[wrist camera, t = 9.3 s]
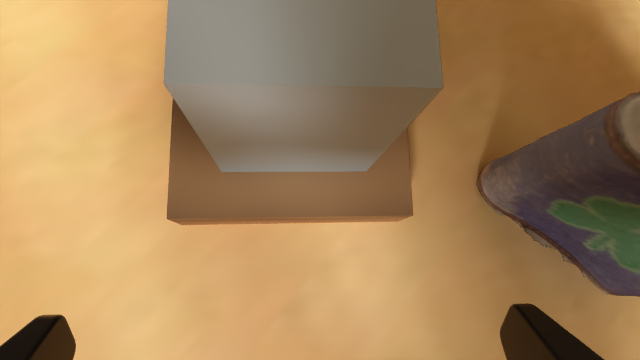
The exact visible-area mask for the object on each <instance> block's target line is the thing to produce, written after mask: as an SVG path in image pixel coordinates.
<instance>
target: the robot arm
mask: <svg viewBox="0 0 640 360" xmlns="http://www.w3.org/2000/svg"><path fill="white" fill-rule="evenodd" d="M500 338H501V342H502V345H503V349H504V352H505V355H506V359H507V360H604V359H603V358H601V357H600V356H599V355H598V354H596V353H595V352H594V351H592V350H591V349H590V348H589V347H587V346H586V345H585V344H584V343H582V342H581V341H580V340H578V339H577V338H576V337H575V336H573V335H572V334H571V333H569V332H568V331H567V330H566V329H564V328H563V327H562V326H560V325H559V324H558V323H557V322H555V321H554V320H553V319H551V318H550V317H549V316H548V315H546V314H545V313H544V312H542V311H541V310H540V309H539V308H537V307H536V306H534V305H532V304H513V305H512V306H510V308H509V310H508V312H507V315H506V317H505V319H504V321H503V324H502V326H501V329H500ZM75 349H76V343H75V339H74V337H73V334H72V332H71V330H70V327H69V325H68V323H67V320H66V318H65V317H64V316H62V315H41V316H39V317H37V318H35V319H34V320H32V321H31V322H30V323H29V324H27V325H26V326H25V327H24V328H22V329H21V330H20V331H19V332H17V333H16V334H15V335H14V336H12V337H11V338H10V339H9V340H7V341H6V342H5V343H4V344H2V345H1V346H0V360H73V358H74V354H75Z"/></svg>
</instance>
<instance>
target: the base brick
mask: <svg viewBox="0 0 640 360" xmlns="http://www.w3.org/2000/svg"><path fill="white" fill-rule="evenodd" d="M410 216H413V205H412V191H411V177H410V163H409V149H408V134H407V128H406V129H405V130H404V131H403V132H402V133H401V134H400V135H399V136H398V137H397V139H396V140H395V141H394V142H393V143H392V144H391V145H390V146H389V147H388V148H387V149H386V150H385V152H384V153H383V154H382V155H381V156H380V157H379V158H378V159H377V160H376V161H375V162H374V163H373V165H372V166H371V167H370V168H369V169H368V170H367V171H353V172H221V170H220V169H219V167H218V166H217V164H216V163H215V161H214V160H213V158H212V156H211V155H210V153H209V152H208V150H207V149H206V147H205V146H204V144H203V143H202V141H201V140H200V138H199V137H198V135H197V133H196V132H195V130H194V129H193V127H192V126H191V124H190V123H189V121H188V120H187V118H186V117H185V115H184V114H183V112H182V110H181V109H180V107H179V106H178V104H177V103H176V101H175V100H174V98H173V106H172V126H171V145H170V165H169V185H168V204H167V219H168V220H171V221H173V222H176V223H178V224H181V225H209V224H271V223H333V222H394V221H400V220H403V219H405V218H408V217H410Z"/></svg>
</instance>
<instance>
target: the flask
mask: <svg viewBox="0 0 640 360" xmlns="http://www.w3.org/2000/svg"><path fill="white" fill-rule="evenodd" d="M476 185H477V187H478V189H479V191H480V193H481V195H482V196H483V197H484V198H485V200H486V201H487V203H488V204H489V205H491V206H492V207H493V208H494V209H495V211H496V212H498V213H499V214H500V215H503V214H506V215H507V216H509V217H511V218H512V219H513V220H514V221H515V222H516V223H519V225H520V227H523V229H525V232H526V233H527V234H529V235H530V236H531V237H532V238H533V241H538V242H539V243H540V244H541V245H543V246H546V248H547V247H548V246H549V247H550V248H553V249H557V250H558V251H560V253H561V254H562V255H563V261H567V262H570V263H572V264H575V265H576V266H577V267H579V268H580V270H581V272H582V273H583V274H584V275H583V277H587V278H588V279H590V280H591V281H592V282H593V283H594V284H595V285H596V286H597V287H599V288H600V289H601V290H602V291H603V292H604V293H605V294H610V295H621V296H640V92H639V93H633V94H629V95H628V96H627V97H625V98H623V99H621V100H618V101H616V102H614V103H612V104H610V105H608V106H606V107H604V108H602V109H600V110H598V111H596V112H594V113H592V114H590V115H588V116H586V117H584V118H582V119H581V120H579V121H577V122H575V123H573V124H571V125H568V126H566V127H564V128H561V129H559V130H557V131H555V132H552V133H550V134H548V135H546V136H544V137H542V138H540V139H539V140H537V141H535V142H533V143H532V144H529V145H527V146H525V147H523V148H521V149H519V150H517V151H515V152H513V153H511V154H509V155H507V156H504V157H502V158H499V159H496V160H493V161H491V162H490V163H489V164H487V165H486V167H485V168H484V169H483V170H482V171H481V173H480V176H479V178H478V181H477V183H476Z"/></svg>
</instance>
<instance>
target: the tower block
mask: <svg viewBox="0 0 640 360" xmlns="http://www.w3.org/2000/svg"><path fill="white" fill-rule="evenodd" d="M164 84H165V86H166V87H167V89H168V91H169V92H170V94H171V95H172V97H173V98H174V100H175V101H176V103H177V104H178V106H179V107H180V109H181V110H182V112H183V114H184V115H185V117H186V118H187V120H188V121H189V123H190V124H191V126H192V127H193V129H194V130H195V132H196V133H197V135H198V137H199V138H200V140H201V141H202V143H203V144H204V146H205V147H206V149H207V150H208V152H209V153H210V155H211V156H212V158H213V160H214V161H215V163H216V164H217V166H218V167H219V169H220V170H221V172H353V171H367V170H368V169H369V168H370V167H371V166H372V165H373V163H374V162H375V161H376V160H377V159H378V158H379V157H380V156H381V155H382V154H383V153H384V152H385V150H386V149H387V148H388V147H389V146H390V145H391V144H392V143H393V142H394V141H395V140H396V139H397V137H398V136H399V135H400V134H401V133H402V132H403V131H404V130H405V129H406V128H407V127H408V126H409V124H410V123H411V122H412V121H413V120H414V119H415V118H416V117H417V116H418V115H419V114H420V113H421V111H422V110H423V109H424V108H425V107H426V106H427V105H428V104H429V103H430V102H431V101H432V100H433V98H434V97H435V96H436V95H437V94H438V93H439V92H440V91H441V90H442V89H443V78H442V67H441V56H440V44H439V33H438V22H437V11H436V0H168V14H167V32H166V51H165V69H164Z"/></svg>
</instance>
